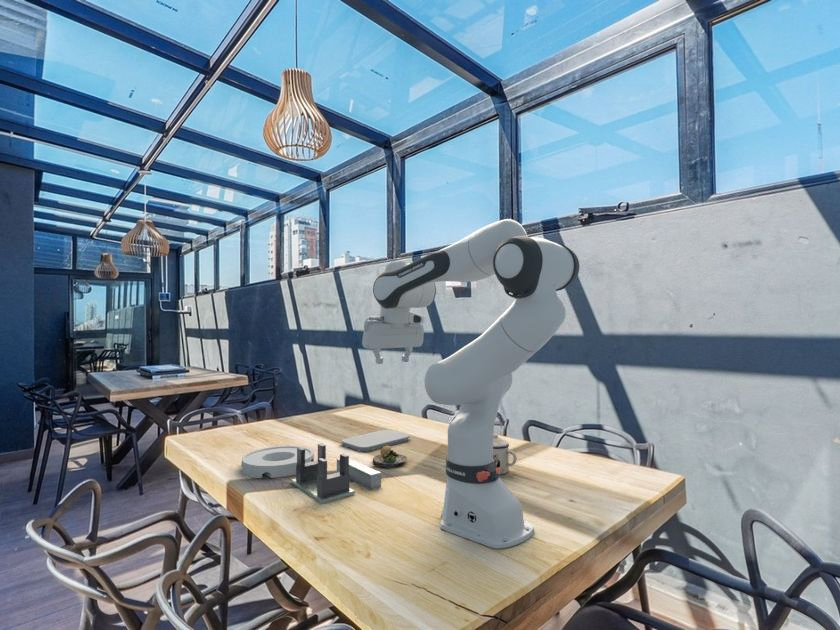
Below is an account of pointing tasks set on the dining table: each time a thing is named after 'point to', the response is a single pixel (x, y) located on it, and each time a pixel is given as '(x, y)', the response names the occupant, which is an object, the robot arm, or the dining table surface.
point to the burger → (388, 458)
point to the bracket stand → (322, 477)
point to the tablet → (375, 440)
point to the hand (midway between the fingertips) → (392, 362)
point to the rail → (363, 474)
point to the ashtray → (273, 461)
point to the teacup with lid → (502, 454)
